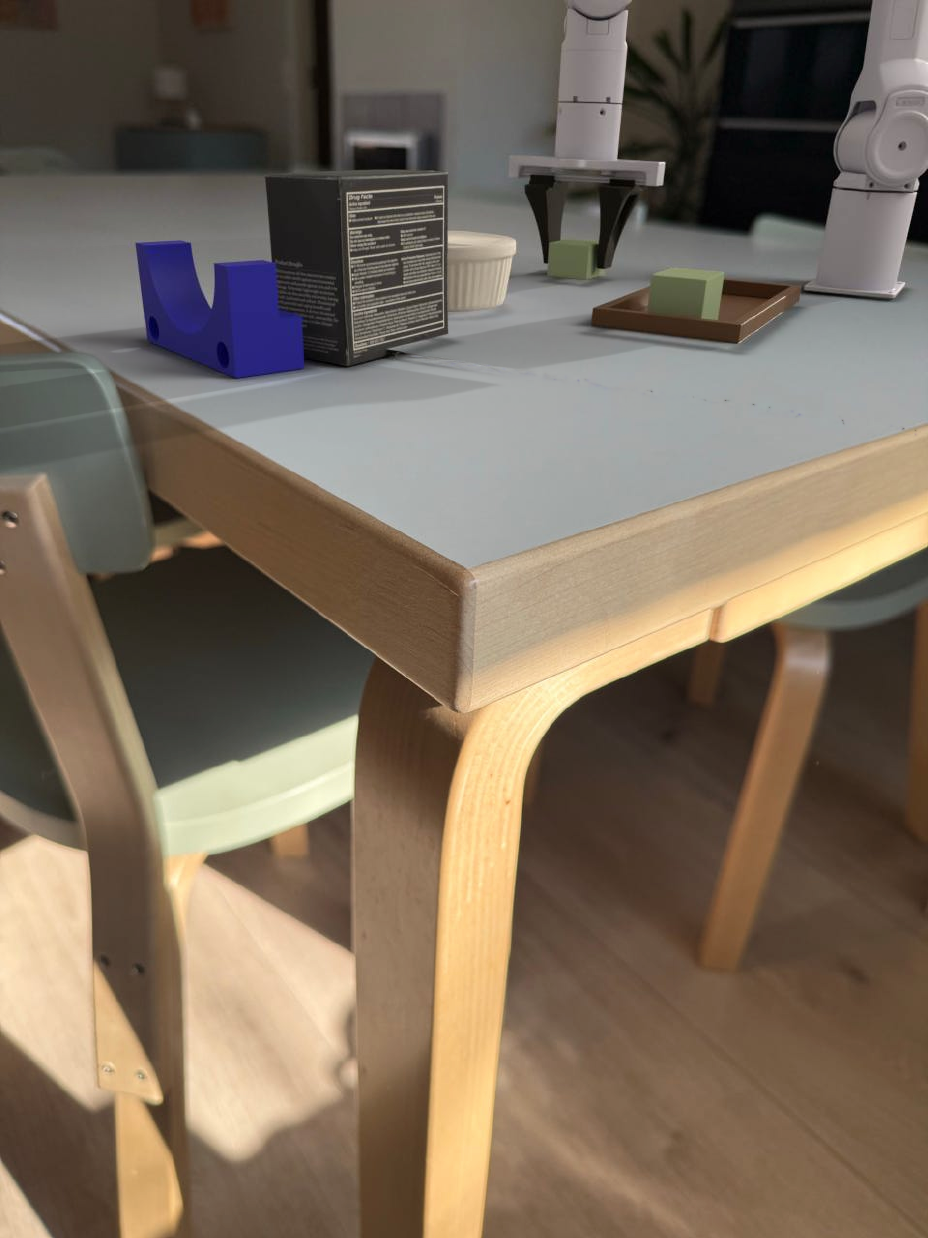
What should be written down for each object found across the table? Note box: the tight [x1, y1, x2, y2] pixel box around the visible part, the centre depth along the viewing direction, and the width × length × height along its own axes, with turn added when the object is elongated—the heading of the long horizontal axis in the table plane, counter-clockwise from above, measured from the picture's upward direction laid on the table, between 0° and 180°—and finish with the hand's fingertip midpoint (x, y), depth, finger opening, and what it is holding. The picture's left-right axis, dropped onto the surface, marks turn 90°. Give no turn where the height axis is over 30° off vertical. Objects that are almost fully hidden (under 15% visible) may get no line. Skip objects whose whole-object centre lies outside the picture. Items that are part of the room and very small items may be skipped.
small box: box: [264, 169, 449, 367], centre depth 60 cm, size 11×6×10 cm, turn 145°
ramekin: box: [447, 230, 517, 312], centre depth 75 cm, size 11×11×5 cm
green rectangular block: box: [647, 266, 726, 320], centre depth 69 cm, size 5×4×4 cm
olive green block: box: [546, 237, 606, 281], centre depth 91 cm, size 5×4×4 cm
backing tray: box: [590, 277, 802, 345], centre depth 74 cm, size 22×11×2 cm, turn 152°
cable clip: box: [135, 240, 305, 379], centre depth 58 cm, size 12×4×6 cm, turn 40°
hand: (577, 265), depth 91 cm, fingers open, 5 cm apart
